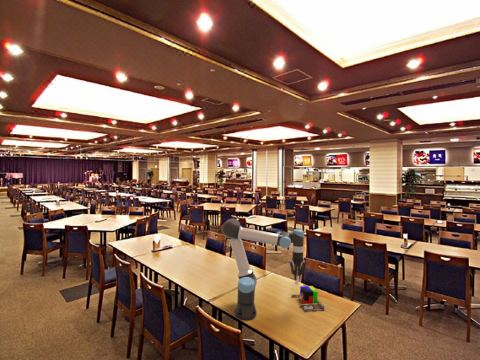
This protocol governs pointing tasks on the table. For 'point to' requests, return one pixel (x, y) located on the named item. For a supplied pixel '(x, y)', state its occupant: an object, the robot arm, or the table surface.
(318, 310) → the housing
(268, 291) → the table surface
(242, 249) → the robot arm
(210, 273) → the table surface
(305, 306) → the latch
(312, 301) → the puzzle toy
